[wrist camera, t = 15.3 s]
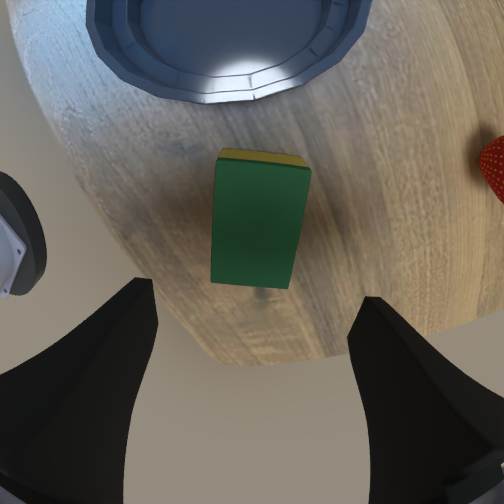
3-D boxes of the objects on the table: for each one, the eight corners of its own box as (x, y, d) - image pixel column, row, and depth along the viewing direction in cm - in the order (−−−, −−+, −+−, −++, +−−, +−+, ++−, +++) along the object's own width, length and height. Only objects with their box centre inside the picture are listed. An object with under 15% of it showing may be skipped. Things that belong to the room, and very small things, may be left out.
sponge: (282, 257, 19) (288, 289, 16) (216, 251, 19) (210, 282, 16) (300, 156, 15) (312, 170, 12) (223, 148, 15) (215, 159, 12)
